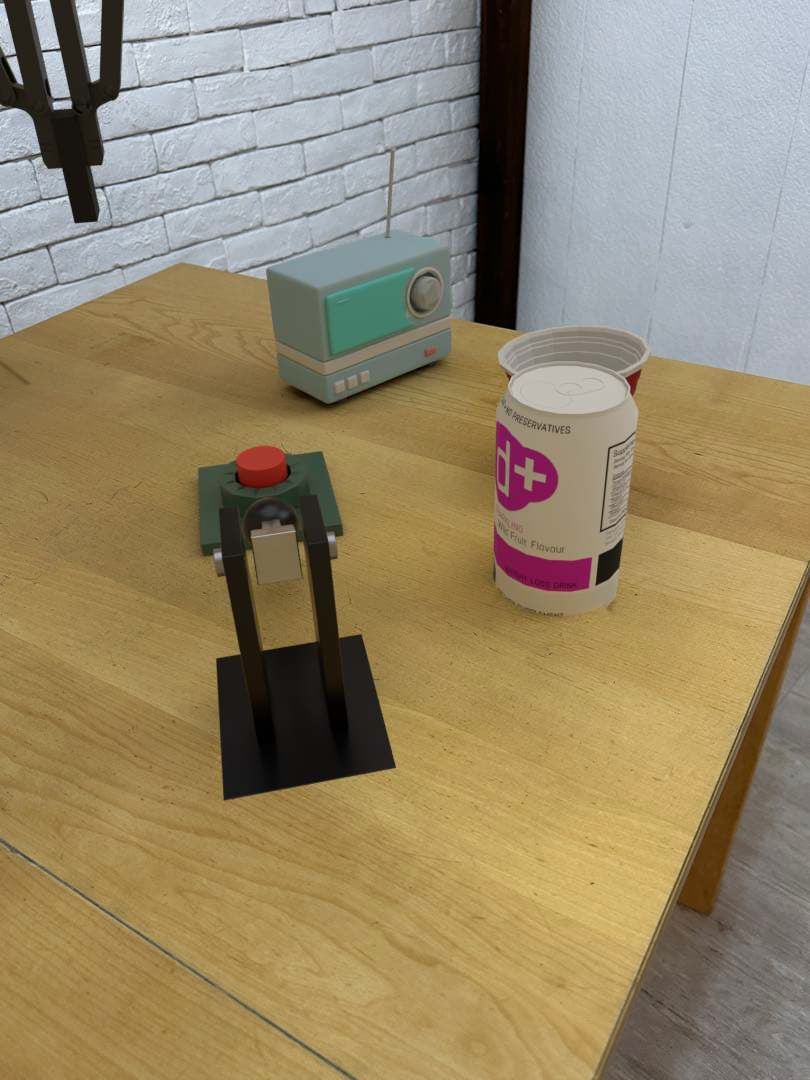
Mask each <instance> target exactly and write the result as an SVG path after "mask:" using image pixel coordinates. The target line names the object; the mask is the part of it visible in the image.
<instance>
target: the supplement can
mask: <svg viewBox="0 0 810 1080" xmlns="http://www.w3.org/2000/svg"><path fill="white" fill-rule="evenodd" d="M495 411H496V412H495V457H494V459H495V461H494V464H495V465H494V504H493V505H494V506H493V507H494V510H493V511H494V513H493V554H492V555H493V559H492V560H493V561H492V562H493V564H492V575H493V576H492V577H493V580H494V585H495V588H496V589H497V591H499V593H500V594H501V595H502V596H503V598H504V599H505V600H506V601H508V602H510V603H511V604H514V605H515V606H517V607H518V608H521V609H522V610H523V611H527V612H531V613H535V614H538V615H542V616H548V617H549V616H550V617H573V616H579V615H583V614H588V613H591V612H593V611H595V610H597V609H599V608H601V607H603V606H604V608H606V609H607V608H608V607H609V606H610V604H611V603H612V602H613V601H614V600H615V599H616V598H617V591H618V588H619V587H618V585H619V579H620V571H621V560H622V554H623V546H624V545H623V544H624V537H625V529H626V520H627V513H628V504H629V497H630V496H629V495H630V487H631V480H632V472H633V463H634V454H635V447H636V437H637V429H638V421H639V413H640V411H639V408H638V407H637V404H636V402H635V400H634V398H632V395H631V393H630V386H629V384H628V382H627V381H626V379H625V378H624V377H622V376H621V375H619V374H618V373H616V372H615V371H613V370H610V369H607V368H605V367H602V366H599V365H595V364H588V363H582V362H549V363H542V364H537V365H534V366H531V367H528V368H525V369H522V370H521V371H519V372H518V373H516V374H515V375H514V376H512V377H511V379H510V382H509V381H508V384H507V388H506V390H505V392H504V393H503V395H502V396H501V398H500V400H499V402H498V405H497V407H496V409H495Z"/></svg>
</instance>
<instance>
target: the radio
mask: <svg viewBox="0 0 810 1080" xmlns="http://www.w3.org/2000/svg"><path fill="white" fill-rule="evenodd" d="M389 151H390V158H389V172H388V173H389V176H388V189H387V190H388V191H387V192H388V193H387V194H388V195H387V209H386V225H385V227H386V228H385V232H381V233H379V234H374V235H371V236H368V237H364V238H361V239H358V240H354V241H351V242H348V243H344V244H341V245H337V246H334V247H330V248H328V249H327V248H326V249H324V250H323V249H322V250H320V251H317V252H314V253H313V252H312V253H310V254H306V255H304V256H299V257H296V258H293V259H290V260H286V261H283V262H280V263H276V264H273V265H270V266H268V267H266V269H265V275H266V282H267V290H268V299H269V305H270V312H271V313H270V315H271V322H272V329H273V336H274V339H275V340H274V344H275V352H276V359H277V368H278V375H279V378H280V380H281V381H282V382H284V383H287V384H288V385H290V386H292V387H294V388H296V389H297V390H299V391H302V392H304V393H306V394H308V395H310V396H312V397H313V398H315V399H317V400H319V401H320V402H323V403H325V404H328V405H329V404H332V403H336V404H341V403H344V402H346V401H347V400H348V397H350V396H353V395H355V394H357V393H360V392H362V391H365V390H368V389H370V388H373V387H374V386H377V385H379V384H380V385H381V384H382V383H384V382H385V383H386V382H387V381H390V380H392V379H394V378H397V377H400V376H402V375H404V374H406V373H409V372H412V371H414V370H416V369H418V368H421V367H432V366H434V365H436V361H438V360H441V359H444V358H446V357H448V356H450V354H452V329H451V328H452V316H451V314H452V302H451V301H452V292H451V291H452V279H451V277H452V275H451V271H452V270H451V269H452V268H451V246H450V245H449V244H448V243H445V242H442V241H438V240H434V239H431V238H428V237H425V236H422V235H419V234H414V233H412V232H409V231H405V230H401V229H392V230H391V220H392V219H391V218H392V203H393V187H394V169H395V155H396V154H395V153H396V152H397V149H396V146H393V147H391V149H389Z"/></svg>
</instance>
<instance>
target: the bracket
mask: <svg viewBox="0 0 810 1080" xmlns="http://www.w3.org/2000/svg"><path fill="white" fill-rule="evenodd" d="M298 503H299V511H300V519H301V527H302V535H303V549H304V557H305V565H306V573H307V582H308V588H309V596H310V597H309V598H310V604H311V612H312V620H313V626H314V627H313V628H314V635H315V641H311V642H305V643H300V644H299V643H298V644H294V645H287V646H281V647H276V648H275V647H274V648H269V649H264V646H263V641H262V635H261V629H260V623H259V617H258V611H257V606H256V601H255V594H254V588H253V584H252V576H251V571H250V564H249V561H248V554H247V550H246V548H245V542H244V536H243V530H242V525H241V519H240V513H239V507H238V506H231V507H224V508H219V509H218V511H219V525H220V540H221V548H218V549H214V550H213V555H212V556H213V563H214V569H215V574H216V577H217V578H222V577H223V578H224V577H225V581H226V586H227V593H228V598H229V603H230V607H231V612H232V618H233V623H234V628H235V634H236V638H237V643H238V644H237V645H238V649H239V654H234V655H228V656H222V657H216V658H215V664H216V666H215V667H216V681H217V682H216V683H217V684H216V685H217V703H218V717H219V718H218V723H219V734H220V735H219V739H220V757H221V759H220V760H221V777H222V795H223V797H222V798H223V801H224V802H225V801H229V800H235V799H240V798H246V797H249V796H250V797H252V796H257V795H261V794H267V793H272V792H278V791H283V790H289V789H293V788H298V787H303V786H304V787H305V786H309V785H315V784H320V783H324V782H330V781H336V780H342V779H346V778H350V777H357V776H361V775H366V774H372V773H377V772H382V771H388V770H393V769H397V764H396V761H395V757H394V754H393V750H392V747H391V741H390V739H389V734H388V731H387V727H386V723H385V719H384V715H383V711H382V708H381V703H380V699H379V696H378V695H379V694H378V692H377V687H376V685H375V680H374V676H373V673H372V668H371V664H370V662H369V657H368V654H367V649H366V645H365V642H364V639H363V634H362V633H359V634H353V635H348V636H341V637H340V633H339V625H338V624H339V623H338V615H337V605H336V595H335V587H334V578H333V568H332V561H333V560H338V559H339V552H338V551H339V550H338V544H337V538H336V537H335V533H334V532H333V531H332V532H326V529H325V525H324V520H323V516H322V512H321V508H320V504H319V500H318V496H317V494H314V495H307V496H300V497H298Z"/></svg>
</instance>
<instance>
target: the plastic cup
mask: <svg viewBox="0 0 810 1080" xmlns="http://www.w3.org/2000/svg"><path fill="white" fill-rule="evenodd" d="M652 351H653V349H652V348H651V346H650V344H649V343H648V341H647V339H646V338H644V337H641V336H640V335H638V334H635V333H634V332H633V331H630V330H625V329H620V328H615V327H611V326H607V325H588V324H587V325H585V324H575V325H565V326H553V327H547V328H543V329H538V330H535V331H530V332H526V333H524V334H522V335H520V336H517V337H516V338H513V339H511V340H509V341H507V342H506V343H505V344H504V345H503V346H502V348H501V349H499V350H498V352H497V357H498V363H499V367H500V369H501V370H502V371H504V373H505V374H506V377H507V378H508V383H509V382H510V379H511V377H512V376H514V375H515V374H516V373H518V372H519V371H521V370H522V369H525V368H528V367H531V366H534V365H537V364H542V363H549V362H582V363H588V364H595V365H599V366H602V367H605V368H607V369H610V370H613V371H615V372H616V373H618V374H619V375H621V376H622V377H624V378H625V379H626V381H627V382H628V384H629V386H630V393H631V395H632V398H633V397H634V395H635V393H636V390H637V386H638V383H639V380H640V378H641V375H642V370H643V369H644V368H645V366H646V364H647V363H648V361H649V359H650V356H651V355H652V354H651V353H652ZM633 399H634V398H633Z"/></svg>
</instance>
